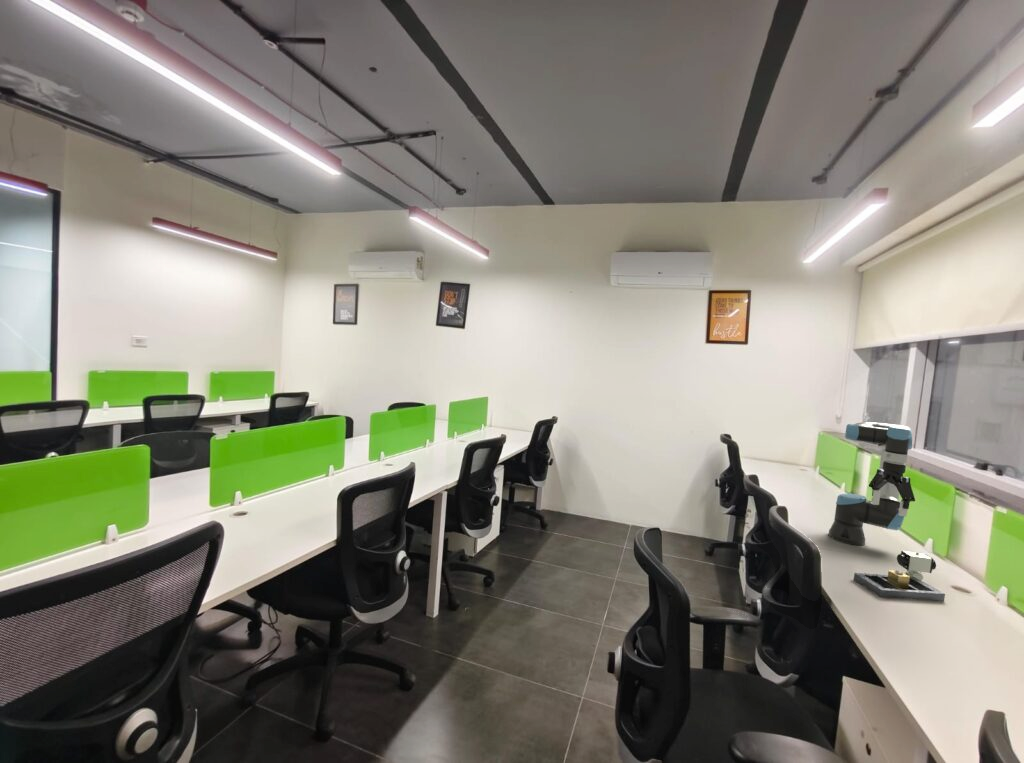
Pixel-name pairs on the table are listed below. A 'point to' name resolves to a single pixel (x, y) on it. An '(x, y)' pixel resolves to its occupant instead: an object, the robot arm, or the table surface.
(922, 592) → the grey slotted tray
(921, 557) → the white security camera
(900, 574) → the tan rectangular block
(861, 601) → the table surface
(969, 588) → the table surface
